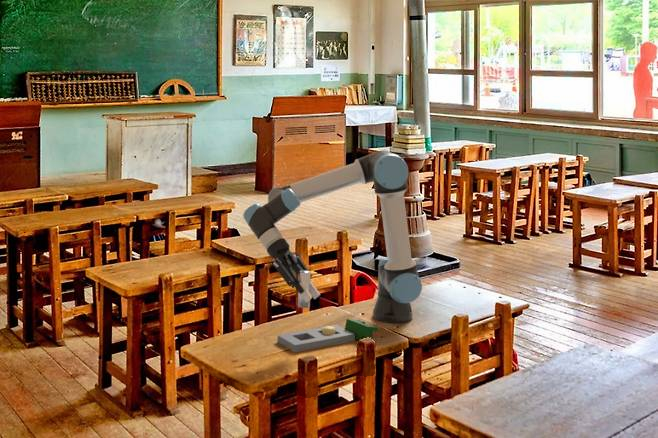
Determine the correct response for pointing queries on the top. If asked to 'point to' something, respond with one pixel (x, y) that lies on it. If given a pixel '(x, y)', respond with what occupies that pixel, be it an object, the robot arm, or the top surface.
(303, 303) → the peg
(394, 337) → the top surface
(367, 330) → the green angular block
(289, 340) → the bolt plate
